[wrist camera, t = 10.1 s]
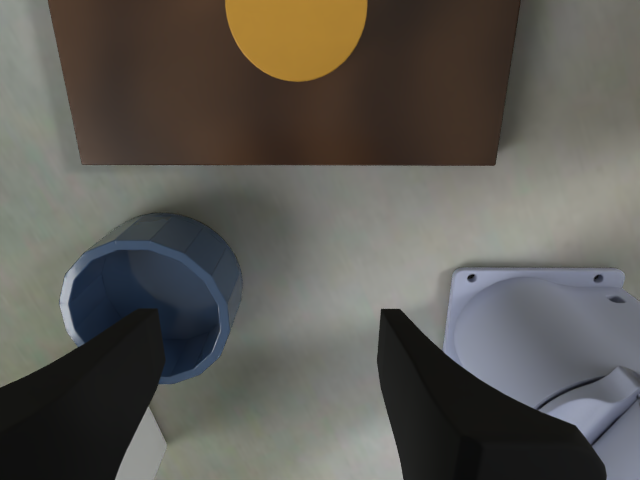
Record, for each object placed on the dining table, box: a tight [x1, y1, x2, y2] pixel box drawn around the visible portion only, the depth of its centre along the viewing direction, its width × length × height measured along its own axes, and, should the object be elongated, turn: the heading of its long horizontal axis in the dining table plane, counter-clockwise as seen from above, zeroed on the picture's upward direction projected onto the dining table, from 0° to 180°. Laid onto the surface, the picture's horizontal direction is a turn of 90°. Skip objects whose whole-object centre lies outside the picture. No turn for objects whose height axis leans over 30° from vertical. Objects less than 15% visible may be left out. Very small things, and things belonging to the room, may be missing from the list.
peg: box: [225, 0, 368, 82], centre depth 15 cm, size 4×4×7 cm
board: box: [48, 0, 521, 166], centre depth 19 cm, size 20×12×2 cm, turn 90°
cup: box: [59, 213, 243, 384], centre depth 23 cm, size 8×8×4 cm
